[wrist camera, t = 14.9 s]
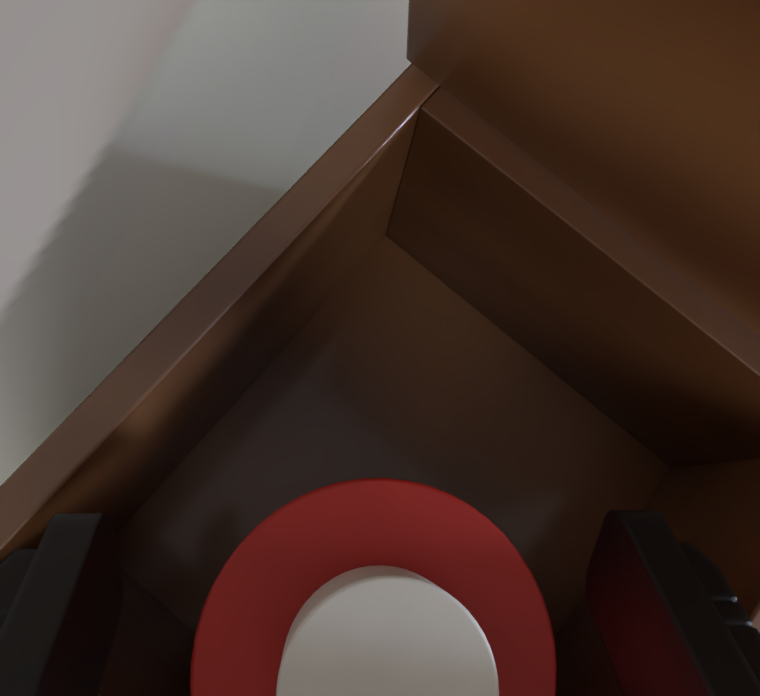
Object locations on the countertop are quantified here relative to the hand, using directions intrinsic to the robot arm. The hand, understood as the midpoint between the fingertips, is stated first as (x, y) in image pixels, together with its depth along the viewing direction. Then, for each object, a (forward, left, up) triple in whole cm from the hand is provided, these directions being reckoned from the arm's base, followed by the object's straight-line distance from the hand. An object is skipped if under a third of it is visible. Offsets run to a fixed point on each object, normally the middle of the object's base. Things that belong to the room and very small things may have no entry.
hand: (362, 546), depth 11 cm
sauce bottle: (-1, -1, -8) cm, 8 cm away
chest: (+1, -1, -9) cm, 9 cm away
